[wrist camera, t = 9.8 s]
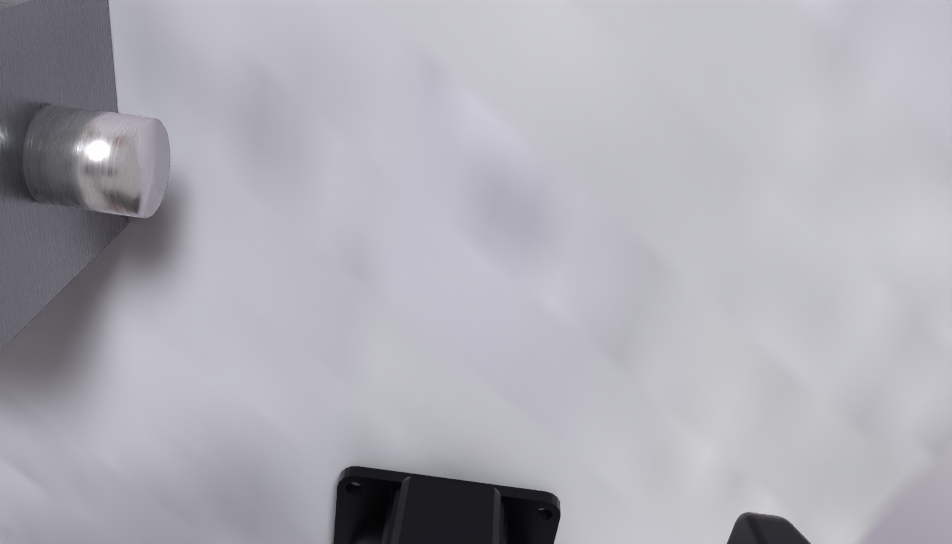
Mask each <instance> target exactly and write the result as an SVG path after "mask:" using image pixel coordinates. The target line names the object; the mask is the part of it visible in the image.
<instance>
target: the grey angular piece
mask: <svg viewBox="0 0 952 544" xmlns="http://www.w3.org/2000/svg"><path fill="white" fill-rule="evenodd" d="M169 171H170V145H169V139H168V135H167V132H166V129H165V127H164V125H163V123H162V122H161V121H160V120H158V119H156V118H149V117H142V116H135V115H128V114H121V113H118V112H117V101H116V89H115V78H114V67H113V55H112V44H111V33H110V21H109V10H108V0H0V351H1V350H2V349H3V348H4V347H5V346H6V345H7V344H8V343H9V342H10V341H11V340H12V339H13V338H14V337H15V336H16V335H17V334H18V333H19V332H20V331H21V330H22V329H23V328H24V327H25V326H26V325H27V324H28V323H29V322H30V321H31V320H32V319H33V318H34V317H35V316H36V315H37V314H38V313H39V312H40V311H41V310H42V309H43V308H44V307H45V306H46V305H47V304H48V303H49V302H50V301H51V300H52V299H53V298H54V297H55V296H56V295H57V294H58V293H59V292H60V291H61V290H62V289H63V288H64V287H65V286H66V285H67V284H68V283H69V282H70V281H71V280H72V279H73V278H74V277H75V276H76V275H77V274H78V273H79V272H80V271H82V270H83V269H84V268H85V267H86V266H87V265H88V264H89V263H90V262H91V261H92V260H93V259H94V258H95V257H96V256H97V255H98V254H99V253H100V252H101V251H102V250H103V249H104V248H105V247H106V246H107V245H108V244H109V243H110V242H111V241H112V240H113V239H114V238H115V237H116V236H117V235H118V234H119V233H120V232H121V231H122V230H123V229H124V228H125V227H126V226H127V216H132V217H140V218H149V217H151V216H152V215H153V214H154V213H155V212H156V211H157V209H158V208H159V206H160V204H161V202H162V200H163V197H164V194H165V191H166V187H167V183H168V178H169Z"/></svg>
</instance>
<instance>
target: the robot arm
mask: <svg viewBox="0 0 952 544" xmlns="http://www.w3.org/2000/svg"><path fill="white" fill-rule="evenodd" d="M352 482H356V483H359V484H360V485H361V486H356V485H353V484H351V483H352ZM539 508H547V509H548V510H544V511H541V510H538V509H539ZM559 520H560V501H559V499H558V498H557V497H556V496H555V495H554V494H552V493H549V492H545V491H537V490H530V489H522V488H515V487H507V486H500V485H493V484H485V483H478V482H470V481H463V480H456V479H448V478H441V477H433V476H426V475H418V474H411V473H404V472H396V471H389V470H381V469H374V468H366V467H359V466H351V467H349V468H346V469H345V470H344V471H343V472H342V473H341V476H340V479H339V483H338V486H337V501H336V517H335V533H334V544H554V540H555V536H556V532H557V528H558V524H559ZM727 544H811V543H810V542H809V541H808V540H807V539H806V538H805V537H804V536H803V535H802V534H801V533H800V532H799V531H798V530H797V529H796V528H795V527H794V526H793V525H792V524H791V523H790V522H789V521H788V520H786V519H785V518H782V517H779V516H773V515H766V514H759V513H751V512H747V513H743V514H741V515H740V516H739V517H738V519H737V520H736V522H735V524H734V527H733V530H732V532H731V535H730V537H729V540H728V542H727Z"/></svg>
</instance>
